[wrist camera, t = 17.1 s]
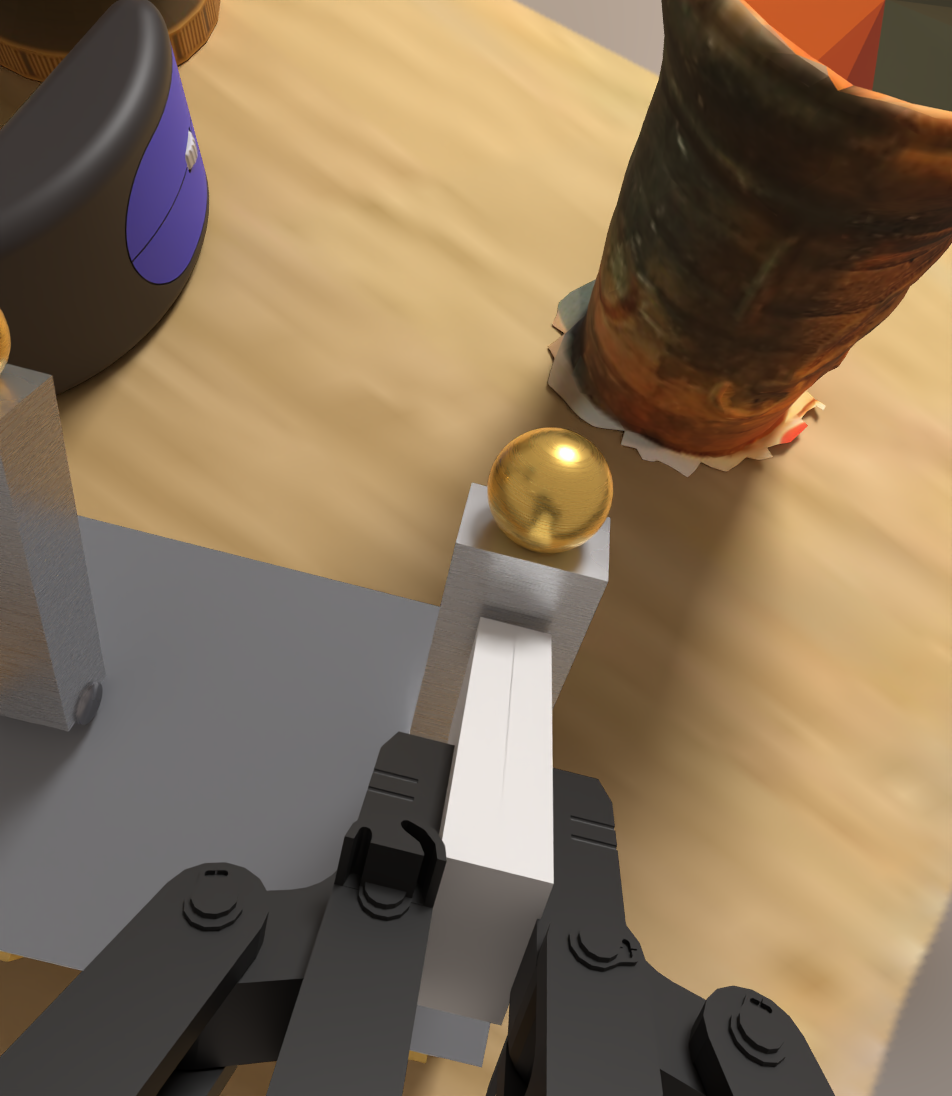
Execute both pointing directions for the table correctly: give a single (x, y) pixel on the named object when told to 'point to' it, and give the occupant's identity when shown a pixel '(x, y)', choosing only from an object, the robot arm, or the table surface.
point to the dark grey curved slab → (99, 199)
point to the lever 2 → (522, 562)
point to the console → (207, 746)
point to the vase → (87, 29)
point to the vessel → (762, 221)
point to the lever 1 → (41, 562)
